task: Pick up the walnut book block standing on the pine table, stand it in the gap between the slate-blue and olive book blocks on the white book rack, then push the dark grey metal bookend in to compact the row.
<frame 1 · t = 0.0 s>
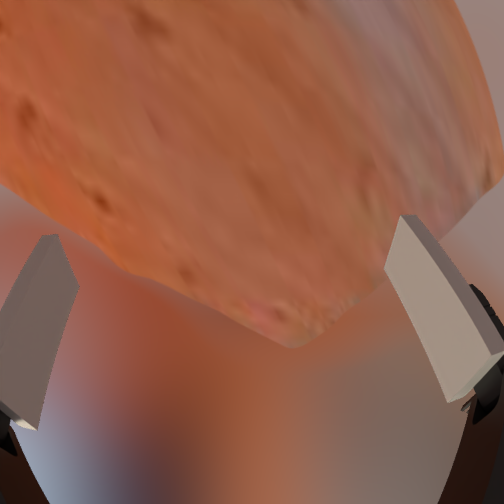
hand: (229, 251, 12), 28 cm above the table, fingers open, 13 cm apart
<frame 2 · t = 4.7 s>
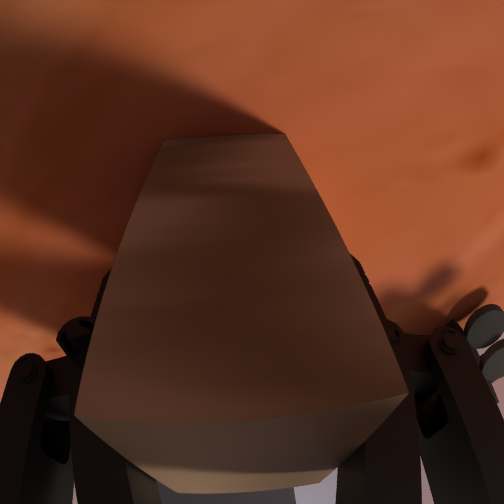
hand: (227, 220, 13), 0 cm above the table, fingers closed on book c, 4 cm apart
character figurine: (420, 347, 23), on the table
book c: (227, 215, 13), on the table, touching gripper
book a: (203, 369, 18), point 1 cm above the table, touching white book rack
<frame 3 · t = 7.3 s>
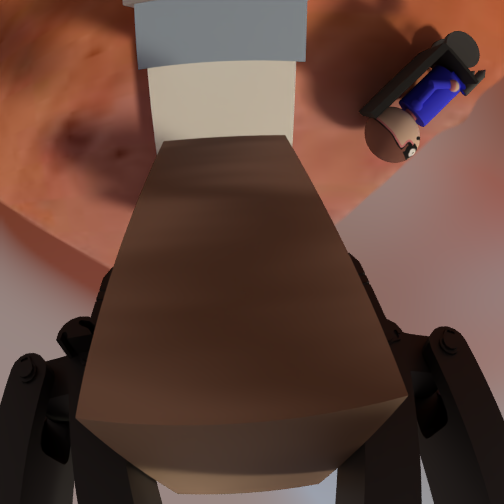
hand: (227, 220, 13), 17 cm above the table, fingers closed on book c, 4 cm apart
character figurine: (401, 83, 25), on the table
white book rack: (223, 122, 27), on the table
book c: (227, 216, 13), point 17 cm above the table, touching gripper
book a: (220, 30, 21), point 1 cm above the table, touching white book rack
when the fingers open (3 cm above the table, at t = 10.0 s): book c drops 1 cm, resting on white book rack.
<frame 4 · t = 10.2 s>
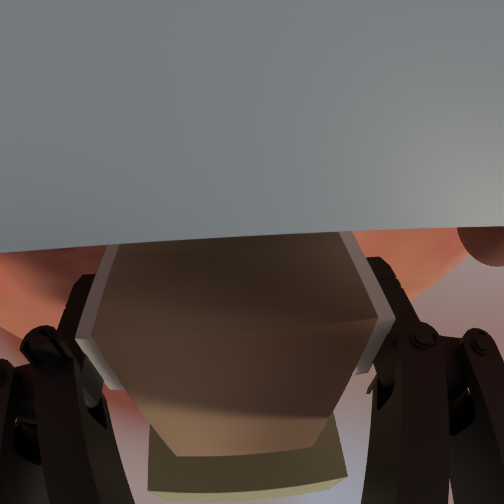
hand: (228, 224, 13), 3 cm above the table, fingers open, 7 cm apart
character figurine: (501, 129, 14), on the table
book b: (233, 312, 19), point 1 cm above the table, touching white book rack
book c: (226, 199, 15), point 1 cm above the table, touching white book rack
book a: (221, 25, 10), point 1 cm above the table, touching white book rack
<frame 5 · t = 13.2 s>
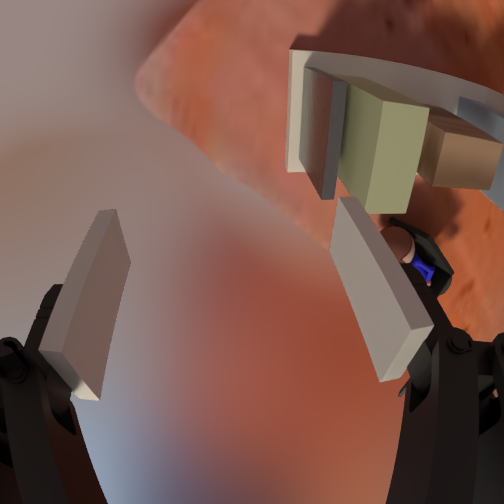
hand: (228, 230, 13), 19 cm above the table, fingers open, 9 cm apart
character figurine: (403, 243, 40), on the table
book b: (342, 115, 27), point 1 cm above the table, touching white book rack
white book rack: (398, 117, 29), on the table
bookend: (318, 126, 24), point 6 cm above the table, slide at 0.0 cm
book c: (411, 122, 28), point 1 cm above the table, touching white book rack
book a: (464, 131, 28), point 1 cm above the table, touching white book rack
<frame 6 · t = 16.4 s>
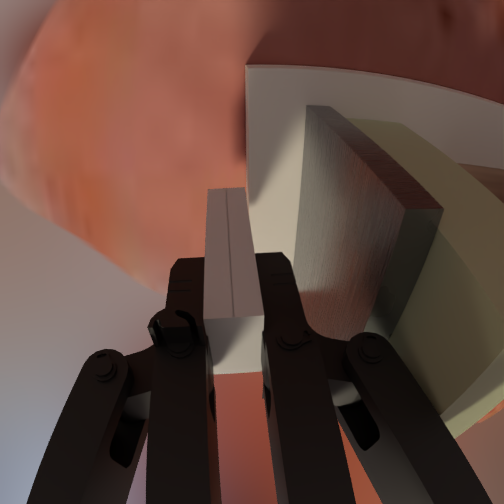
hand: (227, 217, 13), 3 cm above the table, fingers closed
book b: (354, 198, 15), point 2 cm above the table, touching hand
white book rack: (446, 187, 17), on the table
bookend: (335, 256, 12), point 6 cm above the table, slide at 1.3 cm, touching gripper
book c: (469, 200, 15), point 1 cm above the table, touching white book rack
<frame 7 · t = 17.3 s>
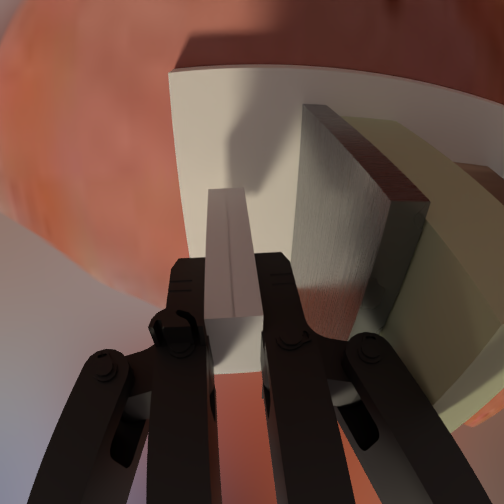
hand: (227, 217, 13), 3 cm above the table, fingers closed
book b: (350, 196, 15), point 2 cm above the table, touching book c, bookend, hand, white book rack
white book rack: (404, 183, 16), on the table
bookend: (329, 251, 12), point 6 cm above the table, slide at 4.3 cm, touching book b, gripper
book c: (435, 197, 15), point 2 cm above the table, touching book b, white book rack
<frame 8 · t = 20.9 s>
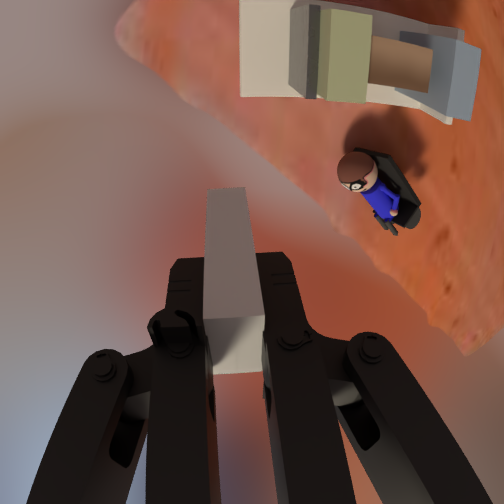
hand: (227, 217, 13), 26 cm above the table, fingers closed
character figurine: (370, 178, 43), on the table
book b: (313, 48, 30), point 1 cm above the table, touching white book rack
white book rack: (342, 50, 31), on the table
bookend: (302, 49, 26), point 6 cm above the table, slide at 4.3 cm
book c: (357, 53, 30), point 1 cm above the table, touching white book rack
book a: (409, 62, 31), point 1 cm above the table, touching white book rack
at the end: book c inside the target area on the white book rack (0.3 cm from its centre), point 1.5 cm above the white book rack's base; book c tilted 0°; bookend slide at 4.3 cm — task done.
